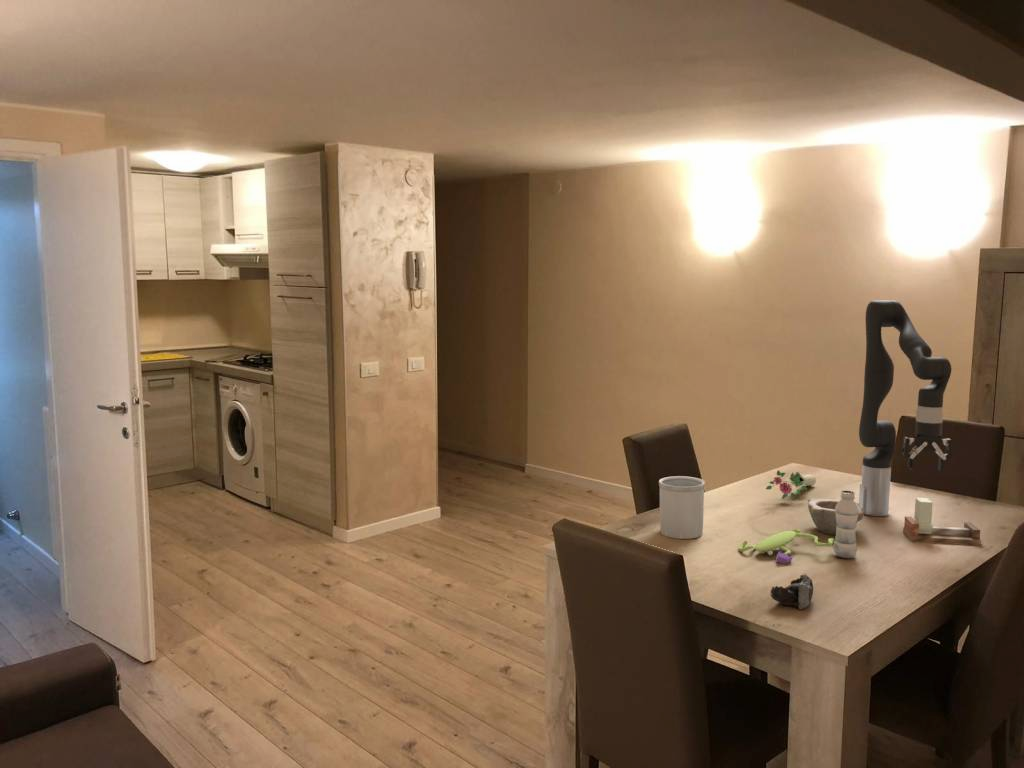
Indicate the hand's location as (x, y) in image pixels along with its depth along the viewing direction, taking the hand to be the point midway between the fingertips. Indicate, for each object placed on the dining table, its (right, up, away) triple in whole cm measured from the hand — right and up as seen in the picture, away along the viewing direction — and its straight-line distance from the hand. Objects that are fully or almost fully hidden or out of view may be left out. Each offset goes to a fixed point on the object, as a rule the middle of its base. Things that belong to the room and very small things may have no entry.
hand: (925, 470), depth 257 cm
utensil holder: (-77, -22, +8) cm, 80 cm away
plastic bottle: (-32, -25, -15) cm, 43 cm away
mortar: (-25, -21, +10) cm, 35 cm away
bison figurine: (-60, -29, -48) cm, 82 cm away
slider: (0, -20, +3) cm, 20 cm away
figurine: (-48, -24, -10) cm, 54 cm away
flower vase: (-22, -16, +54) cm, 61 cm away
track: (+6, -22, +2) cm, 23 cm away
